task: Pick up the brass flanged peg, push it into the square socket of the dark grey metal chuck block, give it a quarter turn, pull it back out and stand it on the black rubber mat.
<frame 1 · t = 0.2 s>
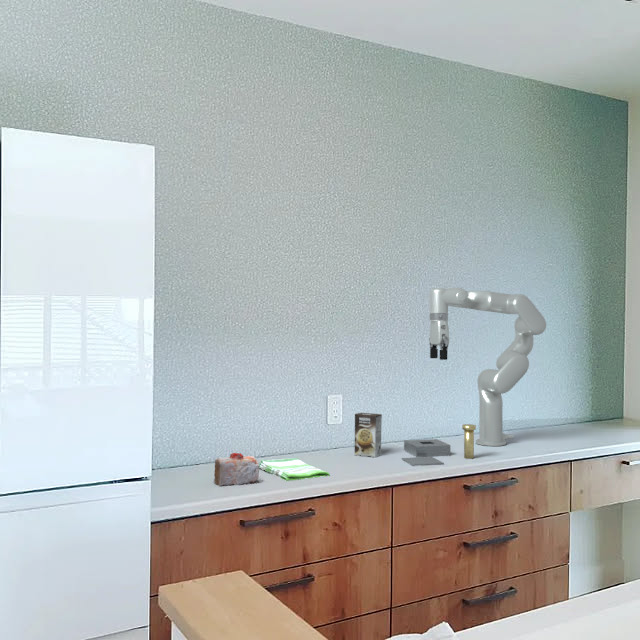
hand: (438, 358, 296), 36 cm above the counter, tool pointing down, fingers open, 9 cm apart
chuck block: (426, 452, 282), on the counter
food item: (236, 483, 231), on the counter
mat: (422, 461, 264), on the counter
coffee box: (367, 455, 277), on the counter
brass flanged peg: (468, 457, 272), on the counter
dish towel: (293, 473, 247), on the counter
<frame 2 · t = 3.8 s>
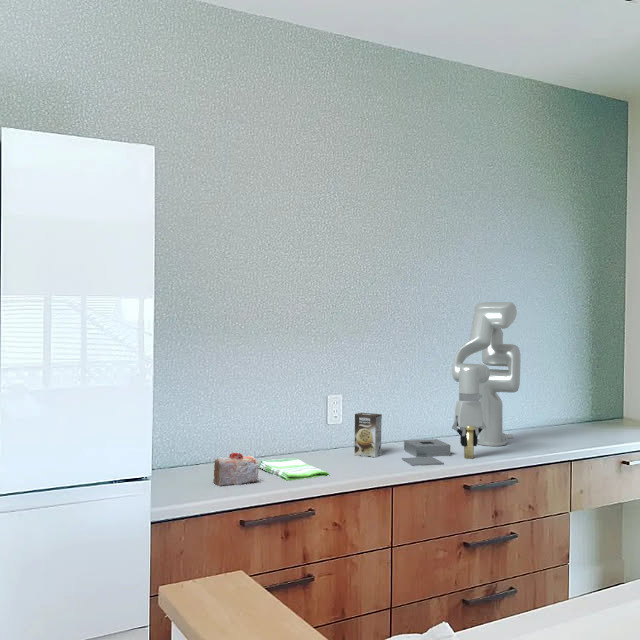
hand: (468, 445, 272), 5 cm above the counter, tool pointing down, fingers closed on brass flanged peg, 3 cm apart
brass flanged peg: (468, 457, 272), on the counter, touching gripper
everything else where it was.
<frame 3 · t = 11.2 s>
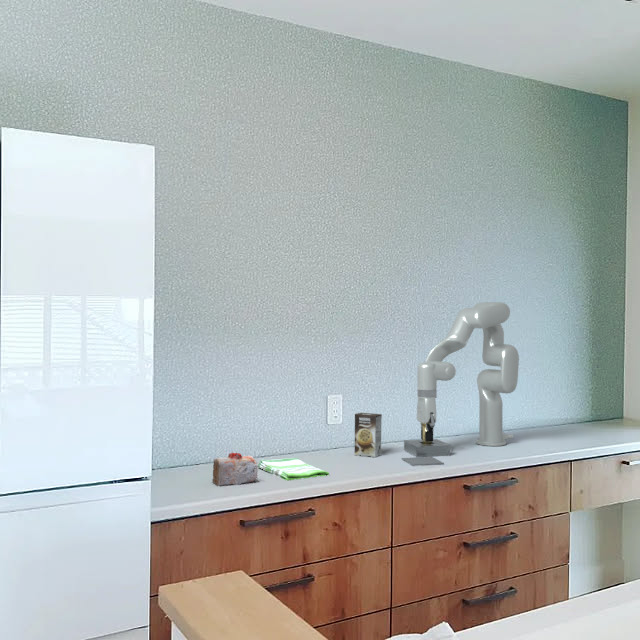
hand: (427, 439, 282), 5 cm above the counter, tool pointing down, fingers closed on brass flanged peg, 3 cm apart
brass flanged peg: (427, 451, 282), resting in chuck block, touching gripper
everything else where it was.
when the fingers open (6 cm above the counter, at t = 18.8 s): brass flanged peg stays where it is, resting on mat.
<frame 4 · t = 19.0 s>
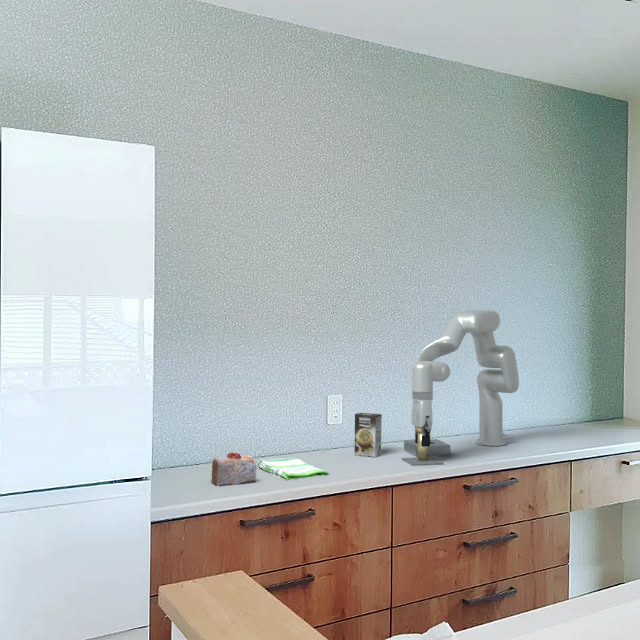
hand: (422, 444, 264), 7 cm above the counter, tool pointing down, fingers open, 5 cm apart
brass flanged peg: (422, 460, 264), point 1 cm above the counter, touching mat
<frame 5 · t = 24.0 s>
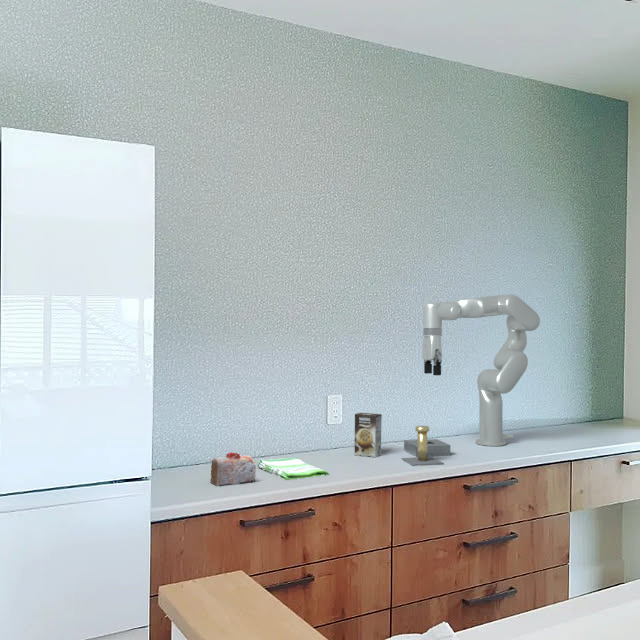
hand: (432, 374, 292), 30 cm above the counter, tool pointing down, fingers open, 9 cm apart
at the end: brass flanged peg inside the target area (0.2 cm from its centre), point 0.5 cm above the counter; brass flanged peg tilted 1°; the gripper is holding nothing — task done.
